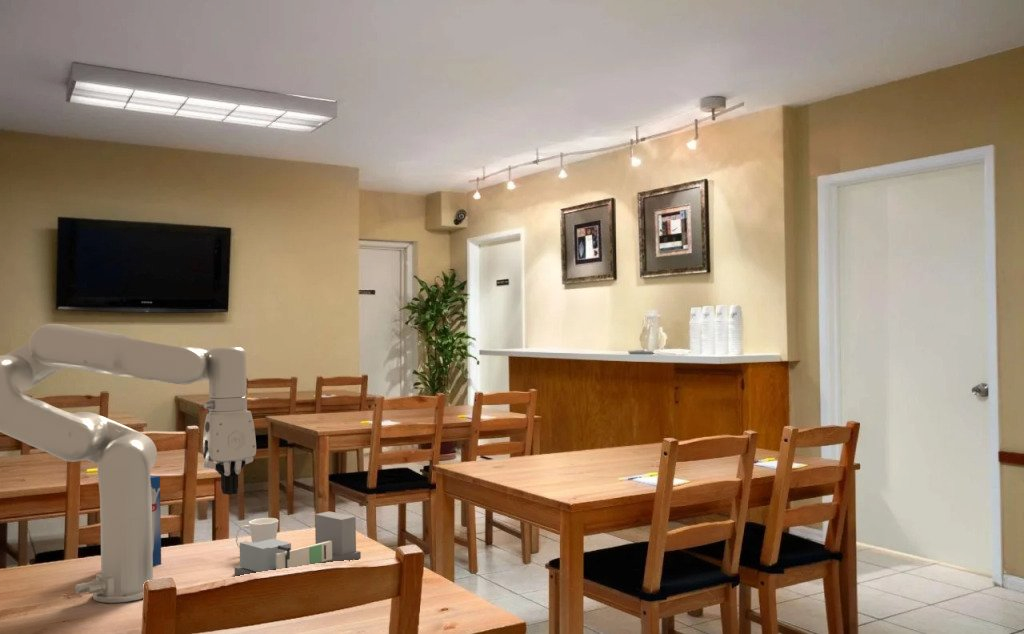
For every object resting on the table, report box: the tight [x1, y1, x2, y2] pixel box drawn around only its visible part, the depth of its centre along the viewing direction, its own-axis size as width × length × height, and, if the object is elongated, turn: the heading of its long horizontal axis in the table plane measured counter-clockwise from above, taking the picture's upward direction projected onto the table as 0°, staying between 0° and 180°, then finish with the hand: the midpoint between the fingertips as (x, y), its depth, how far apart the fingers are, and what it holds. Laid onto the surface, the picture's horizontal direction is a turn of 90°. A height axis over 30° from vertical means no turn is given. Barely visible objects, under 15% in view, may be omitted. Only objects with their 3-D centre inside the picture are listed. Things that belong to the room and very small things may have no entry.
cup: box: [235, 517, 279, 549], centre depth 198 cm, size 7×10×8 cm
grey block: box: [239, 538, 292, 572], centre depth 181 cm, size 8×12×5 cm, turn 49°
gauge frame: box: [234, 510, 362, 576], centre depth 188 cm, size 25×12×10 cm, turn 139°
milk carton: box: [150, 474, 162, 567], centre depth 190 cm, size 10×6×20 cm, turn 146°
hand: (229, 493), depth 176 cm, fingers closed
